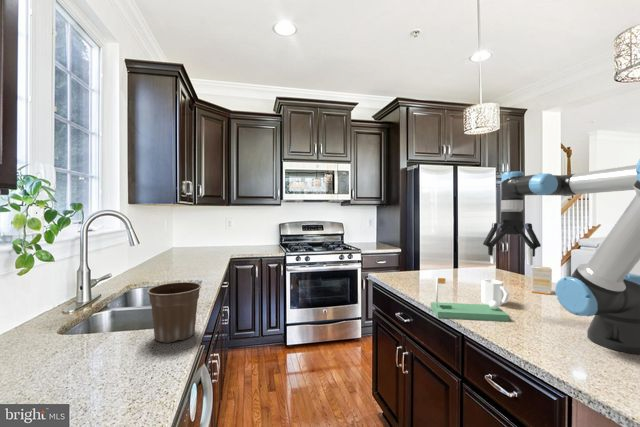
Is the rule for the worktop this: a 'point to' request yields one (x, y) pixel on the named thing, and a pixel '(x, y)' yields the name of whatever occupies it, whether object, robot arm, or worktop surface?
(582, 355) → the worktop surface
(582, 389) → the worktop surface
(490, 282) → the mug
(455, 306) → the putting strip
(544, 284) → the supplement box
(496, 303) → the ball
